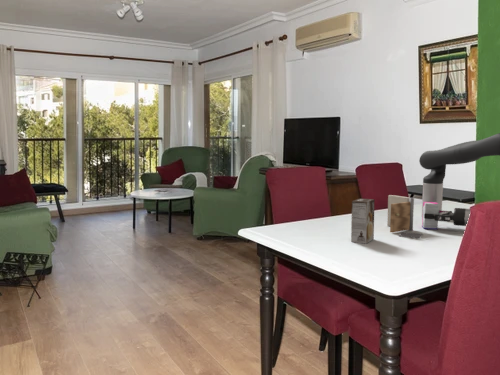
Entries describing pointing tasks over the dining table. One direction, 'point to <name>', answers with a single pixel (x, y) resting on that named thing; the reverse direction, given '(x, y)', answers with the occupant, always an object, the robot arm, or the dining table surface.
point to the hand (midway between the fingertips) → (425, 214)
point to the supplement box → (430, 209)
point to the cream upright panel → (400, 199)
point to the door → (400, 217)
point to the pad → (410, 235)
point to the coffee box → (362, 220)
